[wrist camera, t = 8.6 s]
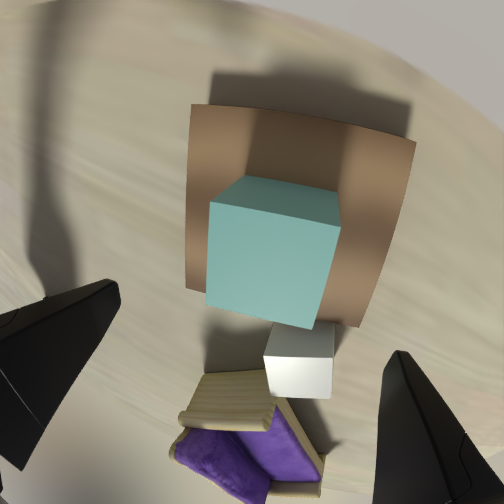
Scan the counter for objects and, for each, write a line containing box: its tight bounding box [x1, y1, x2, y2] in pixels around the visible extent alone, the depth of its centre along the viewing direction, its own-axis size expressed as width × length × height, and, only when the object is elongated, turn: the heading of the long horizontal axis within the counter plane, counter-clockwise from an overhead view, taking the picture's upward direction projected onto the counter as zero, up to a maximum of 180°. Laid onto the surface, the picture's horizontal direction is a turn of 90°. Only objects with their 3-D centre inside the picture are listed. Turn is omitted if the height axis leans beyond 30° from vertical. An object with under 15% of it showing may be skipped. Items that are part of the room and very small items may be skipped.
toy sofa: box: [169, 369, 326, 504], centre depth 25 cm, size 21×9×10 cm, turn 22°
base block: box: [185, 104, 416, 328], centre depth 18 cm, size 12×12×3 cm
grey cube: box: [263, 319, 335, 399], centre depth 21 cm, size 4×4×4 cm
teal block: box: [206, 175, 341, 330], centre depth 14 cm, size 5×5×5 cm
